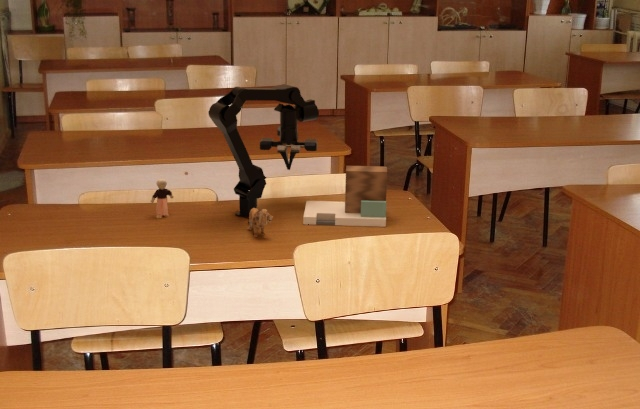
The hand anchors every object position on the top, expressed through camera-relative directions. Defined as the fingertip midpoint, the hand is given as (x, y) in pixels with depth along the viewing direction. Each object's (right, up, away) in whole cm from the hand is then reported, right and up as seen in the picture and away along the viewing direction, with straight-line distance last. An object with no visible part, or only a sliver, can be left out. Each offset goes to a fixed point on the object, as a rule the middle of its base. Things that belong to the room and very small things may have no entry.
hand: (288, 169), depth 262 cm
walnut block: (+25, -14, -8) cm, 30 cm away
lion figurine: (-8, -20, -20) cm, 30 cm away
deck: (+19, -16, -7) cm, 25 cm away
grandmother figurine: (-40, -16, -8) cm, 44 cm away
